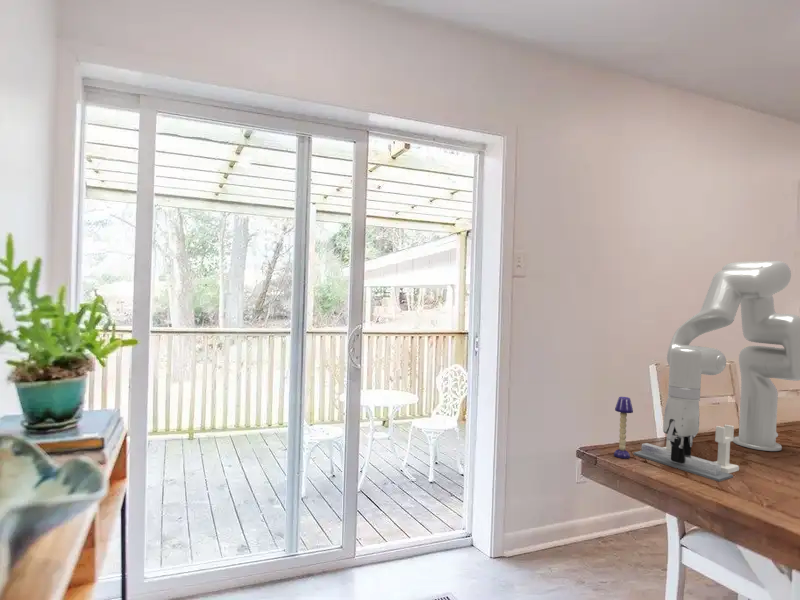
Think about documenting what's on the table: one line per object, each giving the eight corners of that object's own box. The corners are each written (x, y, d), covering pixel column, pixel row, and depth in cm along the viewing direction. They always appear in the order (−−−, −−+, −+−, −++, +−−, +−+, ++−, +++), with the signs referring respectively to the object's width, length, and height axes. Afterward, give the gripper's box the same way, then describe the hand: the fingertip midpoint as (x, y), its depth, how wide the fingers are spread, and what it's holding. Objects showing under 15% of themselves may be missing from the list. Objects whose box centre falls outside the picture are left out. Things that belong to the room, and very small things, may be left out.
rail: (646, 451, 144) (646, 443, 144) (720, 473, 127) (721, 464, 127) (641, 452, 143) (641, 443, 143) (715, 475, 126) (716, 465, 126)
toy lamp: (609, 453, 143) (612, 395, 143) (625, 453, 143) (627, 395, 143) (618, 458, 138) (621, 398, 138) (634, 459, 138) (637, 399, 138)
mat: (647, 451, 146) (647, 449, 146) (733, 477, 127) (733, 474, 127) (633, 454, 143) (633, 452, 143) (719, 481, 123) (719, 479, 123)
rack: (668, 450, 149) (670, 411, 148) (738, 470, 132) (740, 427, 132) (656, 452, 145) (658, 413, 145) (727, 473, 129) (729, 429, 129)
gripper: (686, 389, 142) (682, 453, 142) (653, 392, 133) (650, 460, 133) (714, 394, 135) (710, 461, 136) (681, 397, 127) (678, 469, 127)
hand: (680, 460), depth 134 cm, fingers closed on rail, 2 cm apart
